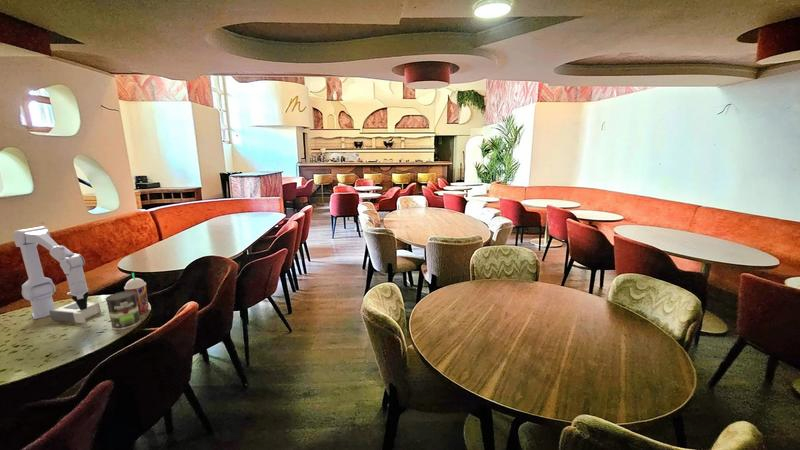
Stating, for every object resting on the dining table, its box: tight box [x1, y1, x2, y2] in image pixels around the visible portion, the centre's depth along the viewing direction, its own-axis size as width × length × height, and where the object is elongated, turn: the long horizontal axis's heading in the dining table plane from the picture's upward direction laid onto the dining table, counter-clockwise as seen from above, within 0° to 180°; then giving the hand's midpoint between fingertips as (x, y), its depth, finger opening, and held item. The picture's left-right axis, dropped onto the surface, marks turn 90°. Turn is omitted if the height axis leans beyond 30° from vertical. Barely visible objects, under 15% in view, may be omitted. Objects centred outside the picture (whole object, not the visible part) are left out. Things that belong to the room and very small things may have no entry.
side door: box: [49, 310, 87, 324], centre depth 152 cm, size 1×19×5 cm, turn 79°
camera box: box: [54, 301, 102, 320], centre depth 158 cm, size 10×14×5 cm
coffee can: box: [105, 290, 142, 331], centre depth 148 cm, size 10×10×14 cm
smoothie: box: [123, 272, 150, 314], centre depth 160 cm, size 8×8×20 cm
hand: (83, 309), depth 152 cm, fingers closed
